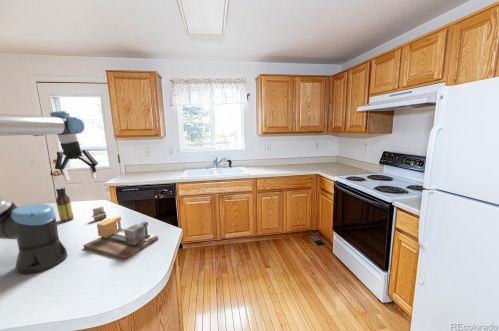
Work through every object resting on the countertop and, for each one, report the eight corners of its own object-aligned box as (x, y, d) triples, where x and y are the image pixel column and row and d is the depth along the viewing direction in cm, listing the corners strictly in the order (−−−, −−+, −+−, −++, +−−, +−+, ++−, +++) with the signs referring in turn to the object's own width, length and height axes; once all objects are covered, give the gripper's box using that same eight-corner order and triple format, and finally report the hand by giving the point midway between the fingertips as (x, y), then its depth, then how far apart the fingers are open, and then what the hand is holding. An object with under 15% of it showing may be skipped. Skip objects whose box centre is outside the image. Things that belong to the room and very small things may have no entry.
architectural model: (107, 219, 133) (105, 207, 132) (93, 223, 128) (92, 211, 126) (105, 217, 135) (103, 206, 134) (91, 221, 130) (90, 209, 128)
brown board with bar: (125, 259, 90) (122, 238, 88) (84, 248, 99) (80, 228, 98) (158, 239, 106) (156, 221, 105) (120, 230, 116) (118, 214, 114)
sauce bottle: (72, 217, 136) (67, 185, 133) (75, 219, 132) (69, 187, 129) (58, 220, 131) (52, 188, 128) (61, 223, 127) (55, 190, 124)
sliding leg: (105, 238, 102) (104, 225, 101) (98, 236, 104) (96, 223, 103) (124, 229, 111) (122, 217, 110) (117, 228, 113) (115, 216, 112)
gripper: (98, 138, 120) (108, 174, 127) (47, 141, 117) (60, 178, 124) (91, 141, 113) (102, 179, 120) (37, 145, 110) (51, 184, 117)
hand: (81, 179), depth 122 cm, fingers open, 13 cm apart
